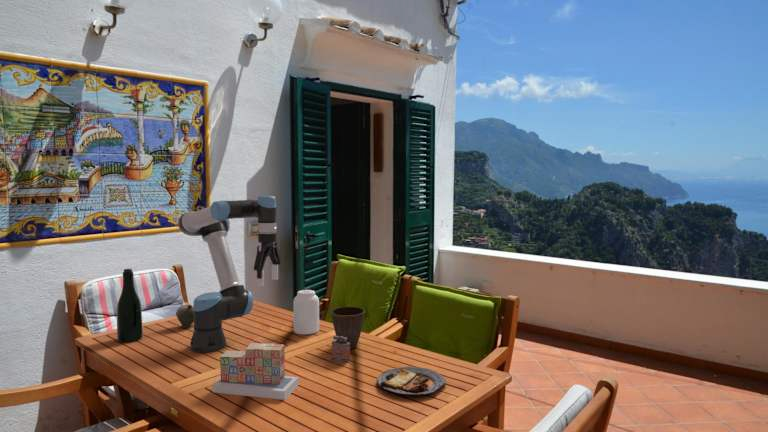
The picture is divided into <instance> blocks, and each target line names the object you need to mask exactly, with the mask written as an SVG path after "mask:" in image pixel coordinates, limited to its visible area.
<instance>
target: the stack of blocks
mask: <svg viewBox="0 0 768 432" xmlns="http://www.w3.org/2000/svg"><path fill="white" fill-rule="evenodd" d="M285 355H286V354H285V344H283V343H282V344H281V343H270V342H269V343H256V342H251V343H250V344H249V345H248V346H247V347H246V348H245V350H244V351H243V350H226V351H225V352H224V353H223V354H222V355H221V356H220V357H219V360H220V361H219V363H220V364H219V365H220V378H221V382H239V383H264V384H280V383H281V382H282V380H283V379H284V377H285V376H286V375H285V374H286V373H285V363H286V362H285V359H286V358H285V357H286V356H285Z"/></svg>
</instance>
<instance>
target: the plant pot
mask: <svg viewBox="0 0 768 432" xmlns="http://www.w3.org/2000/svg"><path fill="white" fill-rule="evenodd" d="M330 314H331V320H332V326H333V329H334V333H335V336H339V337H341V336H343V337H346V338H347V342H349V343H350V349H354V348H356V347H357V346H358V343H359V340H360V337H361V334H362V331H363V324H364V321H365V320H364V319H365V309H364V308H362V307H359V306H358V307H356V306H341V307H340V306H339V307H336V308H334V309H332V310H331V312H330ZM338 341H339V340H338Z"/></svg>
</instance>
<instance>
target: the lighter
mask: <svg viewBox="0 0 768 432" xmlns="http://www.w3.org/2000/svg"><path fill="white" fill-rule="evenodd" d="M332 339H333V340H332V341H331V360H332V361H334V362H339V363H349V362H351V357H350V354H351V352H350V350H351V348H350V343H349V342H347V338H346V337H343V336H341V337H339V336H336V335H333V337H332ZM338 340H339V341H338Z"/></svg>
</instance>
